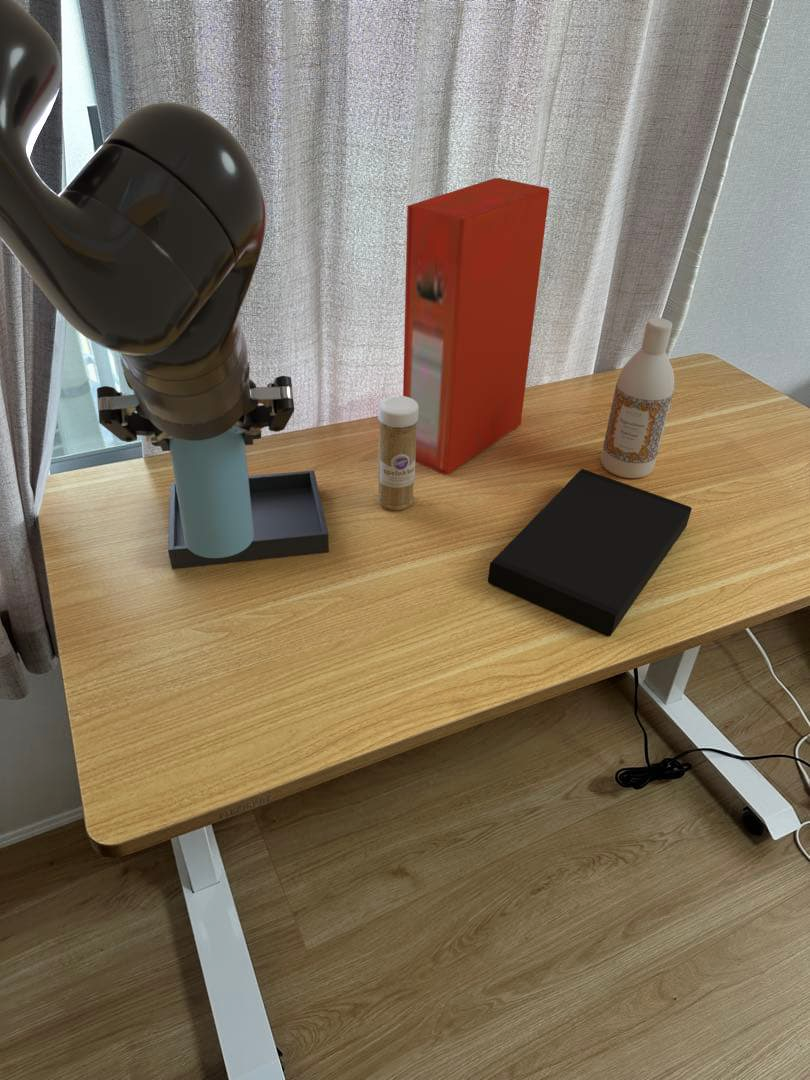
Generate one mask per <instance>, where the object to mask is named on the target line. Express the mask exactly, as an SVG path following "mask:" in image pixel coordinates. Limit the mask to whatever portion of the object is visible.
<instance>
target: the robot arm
mask: <svg viewBox="0 0 810 1080" xmlns="http://www.w3.org/2000/svg"><path fill="white" fill-rule="evenodd" d="M62 77H63V62H62V56H61V53H60V51H59V49H58V46H57V44H56V43H55V40H53V38H52V36H51V35H50V34H49V33H48V32H47V31H46V29H44V28H43V26H41V24H40V23H39V22H38V21H37V20H36V19H35V18H34V17H33V16H32V15H31V14H30V13H28V11H27V10H25V9H24V8H23V6H21V5H20V4H19V3H18V2H17V1H16V0H0V239H1V241H2V242H3V243H4V244H5V246H6V247H7V248H8V249H9V250H10V252H11V253H12V254H13V256H15V258H16V259H17V261H18V262H19V263H20V265H21V266H22V267H23V268H24V270H25V271H26V273H27V274H28V275H29V276H30V277H31V279H32V280H33V282H34V283H35V285H37V287H38V288H39V289H40V291H41V292H42V293H43V294H44V296H45V297H46V299H48V301H49V302H50V303H51V304H52V305H53V307H54V308H55V309H56V310H57V312H59V314H60V315H61V316H62V317H63V318H64V319H65V321H67V323H69V324H70V325H71V326H72V327H73V328H74V329H75V330H76V331H77V332H78V333H80V334H81V335H82V336H83V337H85V338H86V339H88V340H89V341H91V342H92V343H94V344H96V345H97V346H100V347H102V348H104V349H107V350H109V351H112V352H114V353H118V354H119V359H120V364H121V368H122V371H123V376H124V379H125V382H126V384H127V386H128V388H129V389H130V390H132V392H133V394H126V392H125V391H118V390H117V389H116V388H114V387H112V386H108V385H104V386H99V387H97V388H96V397H97V399H96V400H97V413H98V423H99V424H100V425H101V426H102V427H104V428H105V429H106V430H108V432H110V433H111V434H112V435H114V436H115V437H116V438H117V439H119V440H120V441H122V442H126V443H133V442H135V441H137V440H138V436H141V437H143V436H144V437H145V441H147V442H149V443H150V444H151V445H152V446H153V447H160V449H161V450H162V452H170V447H169V441H168V439H173V438H174V437H175V438H179V439H183V440H191V441H199V440H206V439H210V438H214V437H216V436H219V435H221V434H223V433H224V432H226V431H227V432H229V433H232V434H234V435H235V434H240V433H244V440H245V446H253V445H254V440H260V439H261V438H262V429H263V428H268V430H269V431H271V432H275V433H278V432H280V431H283V430H286V429H285V428H286V427H287V425H288V423H289V421H290V419H291V417H292V416H293V414H294V412H295V403H294V392H293V383H292V377H291V376H287V375H280V376H277V377H275V378H274V380H273V382H267V383H266V386H257V385H256V383H255V382H254V381H253V380H252V379H250V372H251V366H250V362H249V353H248V346H247V341H246V338H245V335H244V332H243V329H242V317H241V309H242V307H243V305H244V302H245V300H246V297H247V295H248V293H249V290H250V287H251V284H252V281H253V278H254V275H255V272H256V269H257V266H258V263H259V260H260V256H261V253H262V249H263V245H264V241H265V236H266V230H267V229H266V227H267V208H266V207H267V206H266V200H265V199H266V198H265V195H264V189H263V187H262V183H261V180H260V178H259V176H258V173H257V171H256V169H255V166H254V164H253V162H252V160H251V159H250V157H249V155H248V153H247V152H246V150H245V148H244V147H243V146H242V144H241V143H240V141H239V140H238V139H237V138H236V137H235V135H234V134H233V133H232V132H231V131H230V130H229V129H228V128H227V127H225V126H224V125H223V124H222V123H220V121H218V120H217V119H215V118H214V117H213V116H211V115H209V114H207V113H205V112H204V111H202V110H200V109H198V108H196V107H193V106H190V105H186V104H181V103H177V102H158V103H151V104H147V105H145V106H143V107H141V108H138V109H136V110H135V111H133V112H132V113H131V114H130V115H128V116H127V117H125V119H123V120H122V121H121V122H120V124H119V125H118V126H117V127H116V128H115V129H114V131H112V133H111V134H110V135H109V136H108V137H107V138H106V140H104V142H103V143H102V144H101V145H100V146H99V147H98V148H97V150H96V151H95V152H94V154H93V155H92V156H91V157H90V158H89V159H88V160H87V161H86V162H85V164H84V165H83V166H82V167H81V169H80V170H79V171H78V172H77V173H76V174H75V176H74V177H73V178H72V179H71V180H70V182H69V183H67V185H66V186H65V187H64V188H63V190H62V191H61V192H60V193H58V194H57V193H56V192H54V191H53V190H52V189H51V188H50V187H49V186H48V185H47V184H46V183H45V182H44V181H43V180H42V178H41V177H40V176H39V174H38V173H37V171H36V170H35V167H34V166H33V164H32V162H31V161H32V160H31V159H30V158H31V157H30V156H31V153H32V151H33V149H34V148H33V147H34V145H35V143H36V140H37V138H38V136H39V134H40V132H41V130H42V128H43V126H44V124H45V123H46V121H47V118H48V116H49V115H50V113H51V111H52V108H53V105H54V103H55V102H56V98H57V96H58V93H59V91H60V88H61V87H60V86H61V83H62ZM260 404H261V405H260Z"/></svg>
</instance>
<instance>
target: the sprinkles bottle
mask: <svg viewBox="0 0 810 1080" xmlns="http://www.w3.org/2000/svg"><path fill="white" fill-rule="evenodd" d="M418 413H419V406H418V403H417V402H416V401H415V400H413V399H411V398H409V397H405V396H403V395H390V396H387V397H385V398H383V399H381V401H379V403H378V413H377V418H378V423H379V433H378V450H377V479H378V491H377V492H378V494H377V496H376V497H377V499H376V500H377V503H378V504H379V506H381V507H382V508H383V509H385V510H389V511H402V510H406V509H408V508H410V507H411V506H412V505H413V503H414V499H415V498H414V485H415V483H414V482H415V475H416V474H415V473H416V461H415V457H416V424H417V421H418Z"/></svg>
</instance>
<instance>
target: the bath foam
mask: <svg viewBox="0 0 810 1080" xmlns="http://www.w3.org/2000/svg"><path fill="white" fill-rule="evenodd" d="M672 329H673V322H672V321H670V320H668V319H666V318H663V317H651V318H649V319H648V320H647V322H646V325H645V329H644V334H643V338H642V343H641V348H640V349H639V350H638V351H637V352H636V353H634V355H633V356H632V357H631V358H630V359H629V360H628V361H626V363H625V364H624V365H623V367H622V369H621V371H620V372H619V375H618V378H617V381H616V384H615V389H614V392H613V393H614V395H613V398H612V402H611V403H612V404H611V407H610V412H609V417H608V422H607V426H606V431H605V436H604V441H603V447H602V452H601V457H600V462H601V464H602V466H603V468H604V469H605V470H606V471H608V472H609V473H610V474H612V475H614V476H617V477H619V478H620V477H621V478H625V479H641V478H644V477H647V476H649V475H651V473H652V472H653V470H654V469H655V465H656V461H657V459H658V455H659V450H660V446H661V443H662V439H663V435H664V430H665V428H666V427H665V426H666V423H667V419H668V415H669V412H670V408H671V404H672V400H673V396H674V393H675V392H674V391H675V381H676V380H675V373H674V369H673V366H672V364H671V361H670V359H669V356H668V354H667V349H668V346H669V342H670V337H671V334H672Z"/></svg>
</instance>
